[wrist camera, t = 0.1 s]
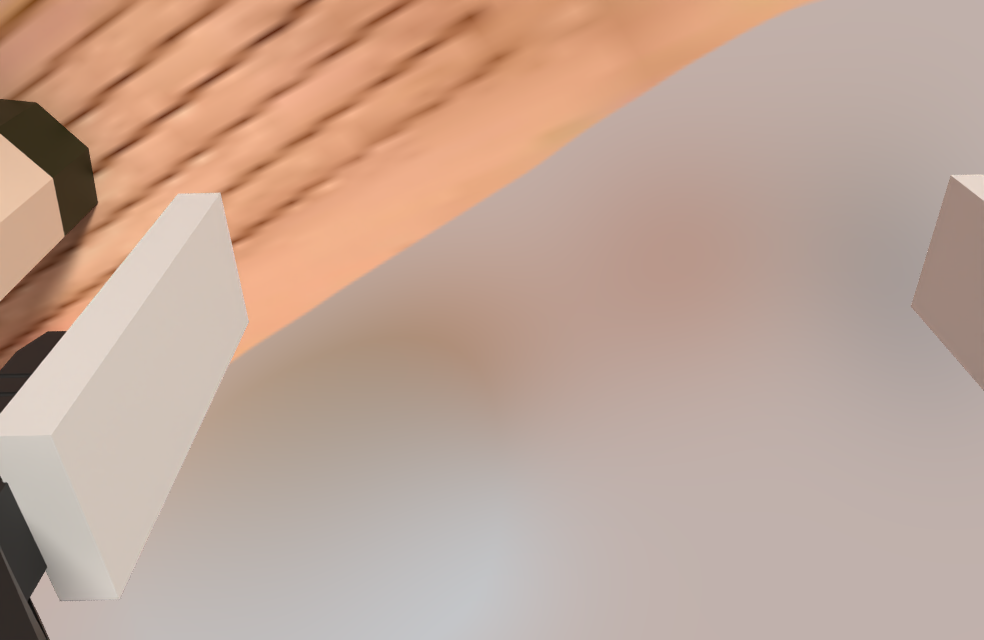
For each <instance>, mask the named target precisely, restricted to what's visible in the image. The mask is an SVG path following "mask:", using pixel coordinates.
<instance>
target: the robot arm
mask: <svg viewBox="0 0 984 640" xmlns="http://www.w3.org/2000/svg"><path fill="white" fill-rule="evenodd" d="M911 307H912V308H913V309H914V311H915V312H916V313H917V314H918V315H919V316H920V317H921V318H922V320H923V321H924V322H925V323H926V324H927V326H928V327H929V328H930V329H931V330H932V331H933V333H934V334H935V335H936V336H937V337H938V338H939V339H940V341H941V342H942V343H943V344H944V345H945V346H946V348H947V349H948V350H949V351H950V352H951V353H952V354H953V356H954V357H955V358H956V359H957V360H958V361H959V362H960V364H961V365H962V366H963V367H964V368H965V369H966V370H967V372H968V373H969V374H970V375H971V376H972V378H973V379H974V380H975V381H976V382H977V383H978V384H979V386H980V387H981V388H982V389H983V390H984V175H951V176H950V180H949V183H948V186H947V190H946V193H945V196H944V199H943V203H942V206H941V210H940V213H939V216H938V219H937V223H936V226H935V229H934V232H933V236H932V239H931V242H930V245H929V249H928V252H927V255H926V259H925V262H924V265H923V268H922V272H921V275H920V278H919V282H918V285H917V288H916V291H915V295H914V298H913V301H912V305H911ZM248 323H249V320H248V316H247V311H246V307H245V302H244V298H243V293H242V289H241V284H240V279H239V275H238V270H237V266H236V261H235V257H234V252H233V248H232V243H231V239H230V234H229V230H228V225H227V221H226V216H225V211H224V207H223V202H222V198H221V193H192V194H177V196H176V197H175V198H174V199H173V201H172V202H171V203H170V204H169V206H168V207H167V208H166V209H165V211H164V212H163V213H162V214H161V215H160V217H159V218H158V219H157V220H156V222H155V223H154V224H153V225H152V227H151V228H150V229H149V230H148V232H147V233H146V234H145V235H144V236H143V238H142V239H141V240H140V241H139V243H138V244H137V245H136V246H135V248H134V249H133V250H132V251H131V253H130V254H129V255H128V256H127V258H126V259H125V260H124V261H123V262H122V264H121V265H120V266H119V267H118V269H117V270H116V271H115V272H114V274H113V275H112V276H111V277H110V279H109V280H108V281H107V282H106V283H105V285H104V286H103V287H102V288H101V290H100V291H99V292H98V293H97V295H96V296H95V297H94V298H93V300H92V301H91V302H90V303H89V305H88V306H87V307H86V308H85V309H84V311H83V312H82V313H81V314H80V316H79V317H78V318H77V319H76V321H75V322H74V323H73V324H72V326H71V327H70V328H69V329H68V330H67V331H52V332H46V333H45V334H43V335H42V336H40V337H38V338H37V339H35V340H34V341H32V342H31V343H29V344H28V345H26V346H25V347H23V348H21V349H20V350H18V351H17V352H16V353H15V354H14V355H13V356H12V358H11V359H10V360H9V361H8V362H7V363H6V364H5V366H4V367H3V368H2V369H1V370H0V640H50V639H49V637H48V635H47V633H46V630H45V628H44V626H43V624H42V622H41V619H40V617H39V615H38V613H37V611H36V609H35V607H34V605H33V603H32V601H31V599H30V596H31V594H32V592H33V591H34V589H35V588H36V586H37V584H38V582H39V581H40V579H41V577H42V576H43V574H44V572H45V570H46V572H47V575H48V576H49V579H50V581H51V583H52V585H53V587H54V589H55V591H56V593H57V595H58V597H59V599H60V601H85V600H119V599H120V598H121V596H122V594H123V591H124V589H125V587H126V585H127V582H128V581H129V578H130V576H131V574H132V572H133V570H134V568H135V565H136V563H137V561H138V559H139V557H140V555H141V553H142V550H143V548H144V546H145V544H146V542H147V540H148V538H149V535H150V533H151V531H152V528H153V527H154V525H155V522H156V520H157V518H158V516H159V514H160V512H161V510H162V507H163V505H164V503H165V501H166V499H167V497H168V495H169V492H170V490H171V488H172V486H173V484H174V482H175V480H176V477H177V475H178V473H179V471H180V468H181V467H182V464H183V462H184V460H185V458H186V456H187V454H188V451H189V449H190V447H191V445H192V443H193V441H194V438H195V436H196V434H197V432H198V430H199V428H200V426H201V423H202V421H203V419H204V417H205V415H206V413H207V411H208V408H209V406H210V404H211V402H212V400H213V398H214V396H215V393H216V391H217V389H218V387H219V385H220V383H221V381H222V378H223V376H224V374H225V372H226V370H227V368H228V366H229V363H230V361H231V359H232V357H233V355H234V353H235V350H236V348H237V346H238V344H239V342H240V340H241V338H242V335H243V333H244V331H245V329H246V327H247V325H248Z"/></svg>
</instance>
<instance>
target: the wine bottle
mask: <svg viewBox="0 0 984 640" xmlns="http://www.w3.org/2000/svg"><path fill="white" fill-rule="evenodd" d="M97 203H98V201H97V195H96V189H95V184H94V178H93V172H92V166H91V161H90V155H89V149H88V148H87V147H86V146H85V145H84V144H83V143H82V142H81V141H80V140H78V139H77V138H76V137H75V136H74V135H73V134H72V133H70V132H69V131H68V130H67V129H66V128H65V127H64V126H63V125H61V124H60V123H59V122H58V121H57V120H56V119H55V118H53V117H52V116H51V115H50V114H49V113H48V112H47V111H46V110H44V109H43V108H42V107H41V106H40V105H39V104H38V103H35V102H25V101H15V100H4V99H0V301H1V300H2V299H3V298H4V297H5V296H6V295H7V294H8V293H9V292H10V291H11V290H12V289H13V288H14V287H15V286H16V285H17V284H18V283H19V282H20V281H21V280H22V279H23V278H24V277H25V276H26V275H27V274H28V273H29V272H30V271H31V270H32V269H33V268H34V267H35V266H36V265H37V264H38V263H39V262H40V261H41V260H42V259H43V258H44V257H45V256H46V255H47V254H48V253H49V252H50V251H51V250H52V249H53V248H54V247H55V246H56V245H57V244H58V243H59V242H60V241H61V240H62V239H63V238H64V236H65V235H66V234H67V233H68V232H69V231H70V230H71V229H72V228H73V227H74V226H75V225H76V224H77V223H78V222H79V221H80V220H81V219H82V218H83V217H84V216H85V215H86V214H87V213H88V212H89V211H90V210H91V209H92V208H93V207H94V206H95V205H96V204H97Z"/></svg>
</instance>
